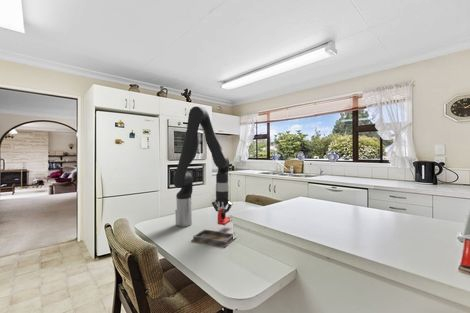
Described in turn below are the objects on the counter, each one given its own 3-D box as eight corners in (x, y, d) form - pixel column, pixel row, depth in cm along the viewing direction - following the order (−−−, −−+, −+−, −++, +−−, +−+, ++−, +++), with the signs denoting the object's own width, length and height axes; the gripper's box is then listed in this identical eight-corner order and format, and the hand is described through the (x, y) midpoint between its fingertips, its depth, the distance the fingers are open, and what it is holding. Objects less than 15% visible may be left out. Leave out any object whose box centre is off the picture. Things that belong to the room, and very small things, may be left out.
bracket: (224, 225, 125) (224, 211, 125) (217, 224, 127) (217, 210, 127) (233, 219, 136) (233, 206, 136) (226, 218, 138) (226, 205, 138)
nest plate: (191, 241, 115) (191, 236, 115) (204, 232, 127) (204, 228, 127) (225, 247, 107) (225, 243, 107) (236, 237, 118) (236, 233, 118)
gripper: (208, 190, 130) (209, 219, 130) (229, 191, 124) (229, 222, 125) (215, 187, 137) (215, 215, 137) (235, 189, 131) (235, 218, 132)
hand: (222, 218), depth 131 cm, fingers closed on bracket, 1 cm apart
